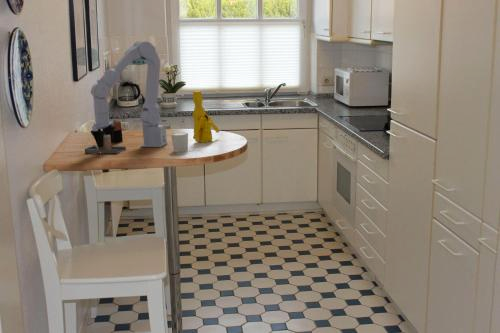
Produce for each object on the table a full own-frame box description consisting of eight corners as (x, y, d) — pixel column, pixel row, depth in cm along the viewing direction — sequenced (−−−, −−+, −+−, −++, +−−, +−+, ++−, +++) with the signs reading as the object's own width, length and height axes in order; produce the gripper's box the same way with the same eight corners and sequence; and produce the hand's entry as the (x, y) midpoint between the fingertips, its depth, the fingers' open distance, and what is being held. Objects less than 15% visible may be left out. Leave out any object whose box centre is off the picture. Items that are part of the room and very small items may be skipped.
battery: (115, 143, 282) (113, 121, 280) (106, 142, 287) (104, 120, 285) (123, 141, 285) (121, 119, 283) (114, 140, 290) (112, 118, 288)
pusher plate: (104, 150, 266) (103, 143, 266) (98, 152, 261) (97, 145, 261) (103, 150, 267) (102, 143, 266) (97, 152, 262) (96, 145, 261)
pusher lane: (126, 150, 265) (125, 145, 265) (117, 153, 258) (117, 149, 257) (94, 149, 269) (93, 145, 269) (85, 153, 262) (84, 148, 261)
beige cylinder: (182, 152, 254) (181, 135, 253) (169, 151, 258) (167, 134, 256) (192, 149, 260) (191, 132, 258) (179, 148, 263) (178, 131, 262)
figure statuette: (197, 145, 267) (194, 93, 263) (183, 144, 272) (180, 93, 267) (223, 138, 282) (220, 89, 277) (209, 137, 286) (206, 88, 281)
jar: (113, 150, 265) (112, 134, 263) (108, 153, 261) (106, 136, 259) (104, 150, 266) (102, 134, 265) (98, 152, 262) (97, 136, 261)
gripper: (101, 110, 268) (104, 142, 271) (84, 115, 254) (87, 148, 257) (116, 110, 266) (119, 142, 269) (99, 115, 252) (103, 148, 255)
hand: (104, 145), depth 263 cm, fingers open, 7 cm apart
